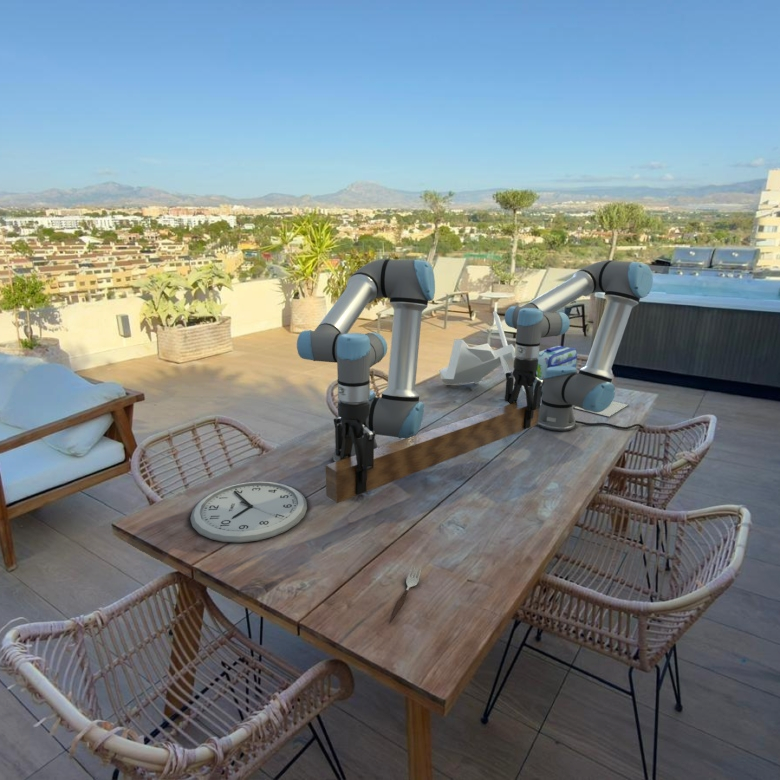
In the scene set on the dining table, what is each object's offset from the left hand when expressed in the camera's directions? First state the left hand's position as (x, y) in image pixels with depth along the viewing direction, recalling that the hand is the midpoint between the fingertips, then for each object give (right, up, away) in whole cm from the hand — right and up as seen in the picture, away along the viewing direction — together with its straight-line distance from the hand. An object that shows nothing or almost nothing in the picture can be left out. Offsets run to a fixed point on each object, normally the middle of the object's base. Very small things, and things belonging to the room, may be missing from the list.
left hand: (354, 488), depth 130 cm
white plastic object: (+51, +23, +113) cm, 126 cm away
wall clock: (-28, -8, +9) cm, 31 cm away
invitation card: (+100, +17, +96) cm, 140 cm away
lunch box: (+86, +24, +117) cm, 147 cm away
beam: (+26, +6, +22) cm, 35 cm away
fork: (+12, -18, -22) cm, 31 cm away
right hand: (+52, +13, +44) cm, 69 cm away
